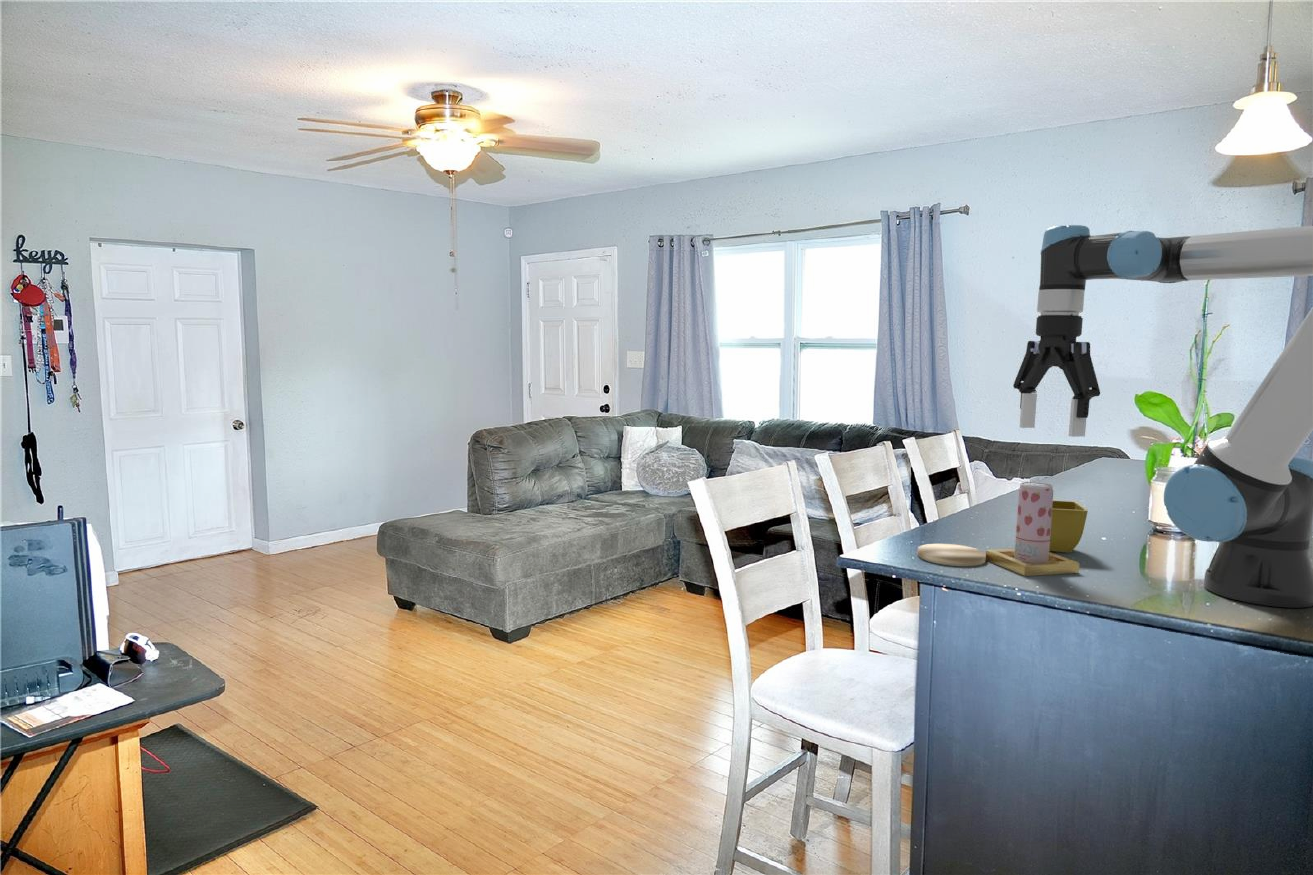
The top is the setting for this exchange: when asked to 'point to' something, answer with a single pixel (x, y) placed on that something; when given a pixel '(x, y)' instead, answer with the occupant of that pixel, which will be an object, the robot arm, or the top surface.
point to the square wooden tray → (1030, 569)
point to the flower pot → (1066, 525)
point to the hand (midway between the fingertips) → (1050, 432)
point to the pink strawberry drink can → (1033, 522)
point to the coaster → (951, 554)
